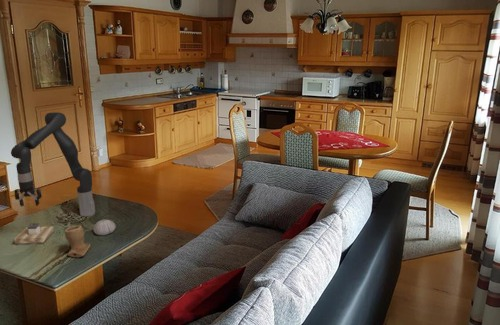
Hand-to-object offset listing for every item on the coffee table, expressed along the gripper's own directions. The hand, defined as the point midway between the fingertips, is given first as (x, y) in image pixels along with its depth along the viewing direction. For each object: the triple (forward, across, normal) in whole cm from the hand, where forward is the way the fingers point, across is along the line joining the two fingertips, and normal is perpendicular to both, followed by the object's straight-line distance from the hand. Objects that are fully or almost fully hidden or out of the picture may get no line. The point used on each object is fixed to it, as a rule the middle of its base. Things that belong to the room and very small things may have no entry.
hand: (29, 205), depth 242 cm
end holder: (+22, 0, 0) cm, 22 cm away
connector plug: (+20, 0, 0) cm, 21 cm away
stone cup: (+22, -32, +20) cm, 44 cm away
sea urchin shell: (+22, -40, -6) cm, 46 cm away
